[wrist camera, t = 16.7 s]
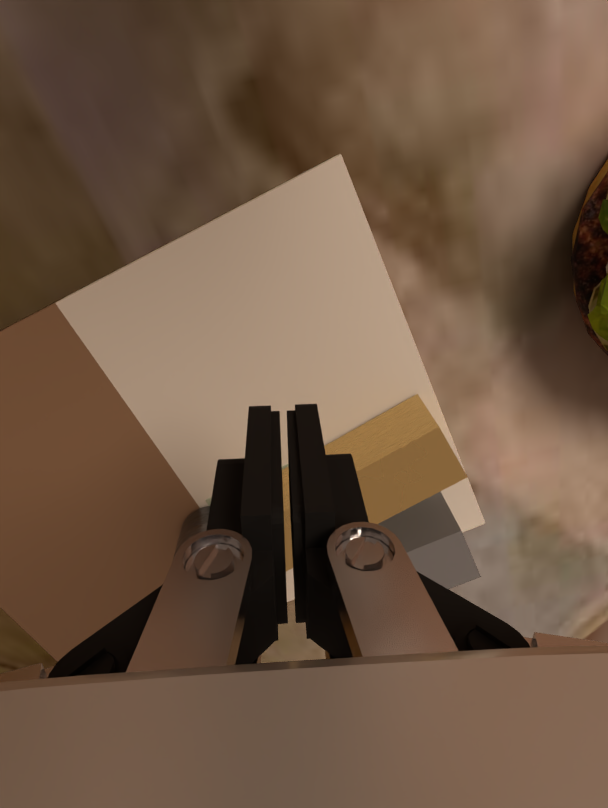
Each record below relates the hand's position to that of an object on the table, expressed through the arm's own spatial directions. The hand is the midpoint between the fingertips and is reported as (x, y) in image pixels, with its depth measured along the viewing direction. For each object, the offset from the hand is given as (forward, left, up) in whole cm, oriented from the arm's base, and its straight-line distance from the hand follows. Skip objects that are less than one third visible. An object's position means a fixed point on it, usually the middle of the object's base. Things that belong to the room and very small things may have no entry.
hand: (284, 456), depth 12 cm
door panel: (+7, +4, -11) cm, 14 cm away
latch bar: (+2, +7, -9) cm, 12 cm away
